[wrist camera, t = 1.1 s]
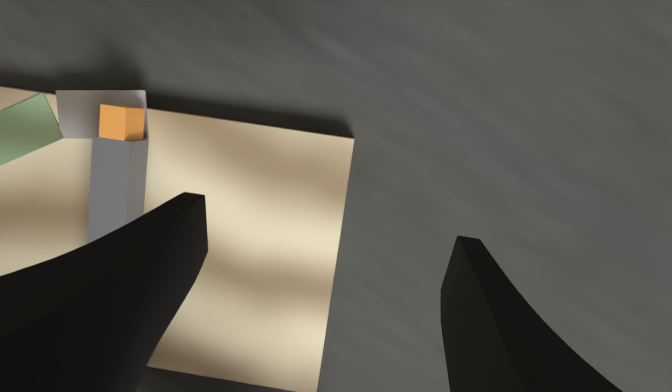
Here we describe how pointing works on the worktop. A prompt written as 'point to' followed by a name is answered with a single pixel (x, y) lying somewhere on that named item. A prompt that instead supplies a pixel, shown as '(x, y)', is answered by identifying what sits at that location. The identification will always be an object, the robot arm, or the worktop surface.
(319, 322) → the light wood flat board
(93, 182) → the grey bar
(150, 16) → the worktop surface
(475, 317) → the robot arm
